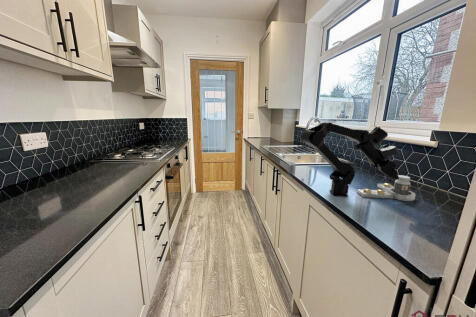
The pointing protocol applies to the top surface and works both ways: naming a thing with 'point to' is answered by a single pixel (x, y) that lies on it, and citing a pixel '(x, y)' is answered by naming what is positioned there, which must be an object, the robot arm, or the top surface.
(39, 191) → the top surface
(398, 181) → the pill bottle
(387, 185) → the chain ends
